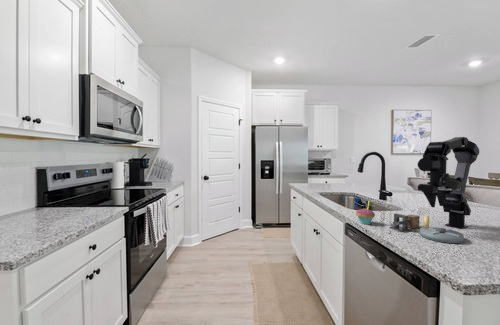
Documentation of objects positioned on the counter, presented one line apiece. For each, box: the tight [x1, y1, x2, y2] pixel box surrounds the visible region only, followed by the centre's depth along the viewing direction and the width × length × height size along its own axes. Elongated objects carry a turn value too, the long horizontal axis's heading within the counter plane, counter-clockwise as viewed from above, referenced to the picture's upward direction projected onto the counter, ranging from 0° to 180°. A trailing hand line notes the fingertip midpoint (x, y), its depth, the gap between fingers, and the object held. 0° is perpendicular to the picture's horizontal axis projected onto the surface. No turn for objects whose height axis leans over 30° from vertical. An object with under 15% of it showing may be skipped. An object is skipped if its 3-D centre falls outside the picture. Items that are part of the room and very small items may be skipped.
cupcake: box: [355, 199, 376, 226], centre depth 121 cm, size 9×8×12 cm
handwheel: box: [419, 215, 465, 244], centre depth 100 cm, size 14×14×7 cm
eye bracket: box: [389, 213, 413, 233], centre depth 111 cm, size 5×7×7 cm
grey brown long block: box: [390, 214, 420, 229], centre depth 112 cm, size 16×4×5 cm, turn 115°
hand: (437, 206), depth 107 cm, fingers open, 6 cm apart
